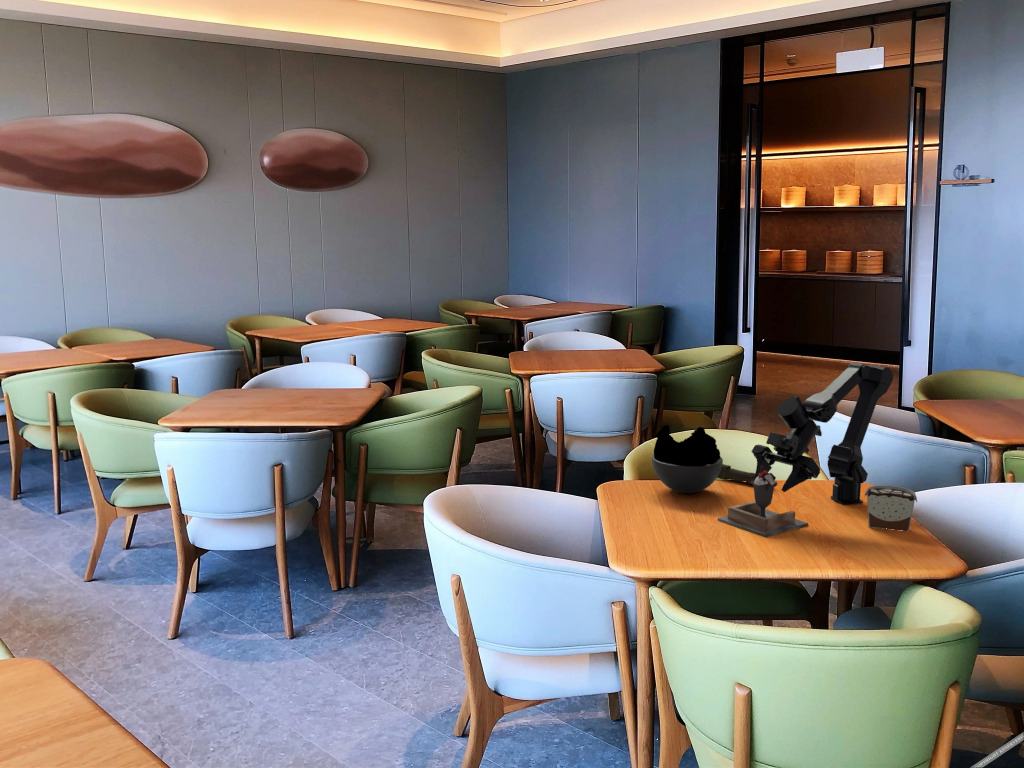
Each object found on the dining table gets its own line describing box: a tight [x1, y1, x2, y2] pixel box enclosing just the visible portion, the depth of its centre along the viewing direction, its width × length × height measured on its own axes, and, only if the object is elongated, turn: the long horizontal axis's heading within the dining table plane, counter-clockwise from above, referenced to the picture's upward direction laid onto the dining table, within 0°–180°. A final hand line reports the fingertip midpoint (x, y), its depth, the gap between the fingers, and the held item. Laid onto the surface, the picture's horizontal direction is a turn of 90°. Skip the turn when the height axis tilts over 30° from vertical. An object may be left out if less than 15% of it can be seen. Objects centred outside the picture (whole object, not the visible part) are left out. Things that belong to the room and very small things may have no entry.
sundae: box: [751, 466, 778, 518], centre depth 240 cm, size 7×7×15 cm
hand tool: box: [716, 463, 756, 486], centre depth 279 cm, size 19×4×5 cm, turn 42°
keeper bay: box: [717, 500, 809, 538], centre depth 241 cm, size 16×16×4 cm
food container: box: [864, 484, 918, 532], centre depth 237 cm, size 12×6×10 cm, turn 65°
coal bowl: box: [651, 424, 724, 494], centre depth 267 cm, size 20×20×19 cm
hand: (768, 486), depth 240 cm, fingers open, 9 cm apart
